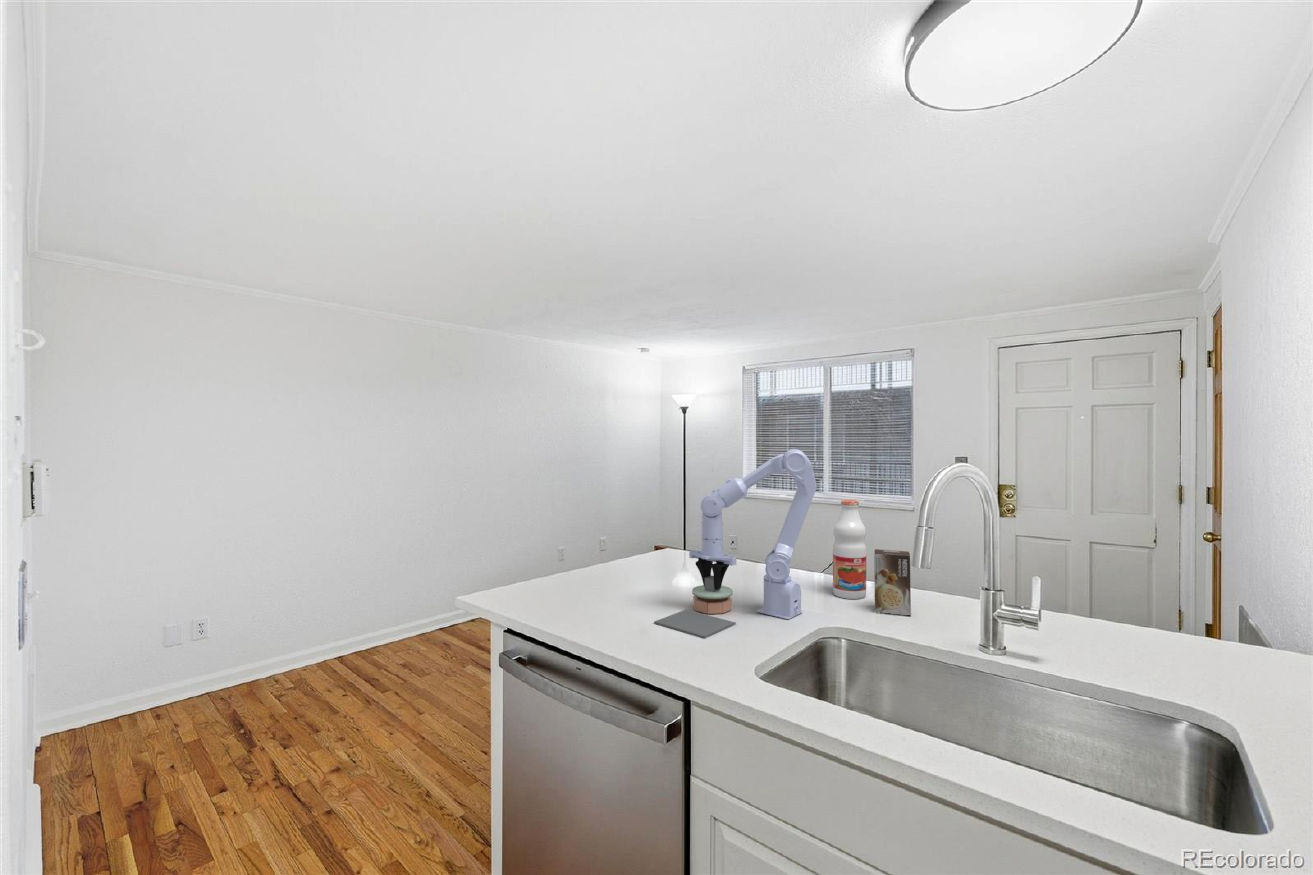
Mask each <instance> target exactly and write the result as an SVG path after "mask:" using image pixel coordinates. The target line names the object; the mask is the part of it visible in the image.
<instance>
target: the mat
mask: <svg viewBox="0 0 1313 875" xmlns="http://www.w3.org/2000/svg"><path fill="white" fill-rule="evenodd" d="M653 624H655V625H657V626H661V627H666V628H668V629H672V630H674V631H679V632H682V633H685V634H688V635H691V636H695V637H698V638H701V639H702V638H703V639H707V638H709V637H711V636H713V635H716V634H718V633H720V632H722V631H724V630H728V628H731V627H733V626H735V625H736V622H735V621H731V620H728V619H724V618H722V617H721V618H720V617H717V616H716V617H715V616H713V615H710V614H706V613H701V612H699V611H695V610H693V611H692V610H691V609H690V610H689V609H684V610H681V611H678V612H675V613H672V614H670V615H668V616H664V617H663V618H659V619H658V620H654V621H653Z"/></svg>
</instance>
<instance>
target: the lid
mask: <svg viewBox="0 0 1313 875" xmlns="http://www.w3.org/2000/svg"><path fill="white" fill-rule="evenodd" d="M691 591H692V592H691V593H692V595H693V596H694V595H695V596H697V597H700V598H706V599H721V598H727V597H730V598H731V596H732V595H733V588H731V587H729V586H726V585H721V588H720V589H717V590H716V589H715V588H714V575H711V576H708V577H705V587H704V584H703V585H697V586H695V587H693V588H692V590H691Z"/></svg>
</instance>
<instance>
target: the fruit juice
mask: <svg viewBox="0 0 1313 875" xmlns="http://www.w3.org/2000/svg"><path fill="white" fill-rule="evenodd" d="M859 504H860V503H859V501H858V500H856V499H855V500H854V499H842V500H840V507H841V511H840V514H839V515H838V516H839V517H838V518H837V520H836V522H835V524H834V526H833V536H834V542H833V548H832V593H833V595H834V596H835V595H836V597H838V598H841V599H848V600H861V599H864V598H865V597H866V595H867V546H866V543H865V539H866V536H867V528H866V526H865V525H864V523H863V521H862V518H861V516H860V513H859V510H858V507H859Z"/></svg>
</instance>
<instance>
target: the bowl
mask: <svg viewBox="0 0 1313 875" xmlns="http://www.w3.org/2000/svg"><path fill="white" fill-rule="evenodd" d="M732 601H733V600H732V597H731V596H730V597H727V598H721V599H706V598H700V597H697V596H695V595H693V596H692V607H693V609H694V611H695V612H698V613H701V614H705V615H720V614H724V613H727V612H730V611H731V610H732V609H733V608H732V607H733V605H732V604H733V602H732Z"/></svg>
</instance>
